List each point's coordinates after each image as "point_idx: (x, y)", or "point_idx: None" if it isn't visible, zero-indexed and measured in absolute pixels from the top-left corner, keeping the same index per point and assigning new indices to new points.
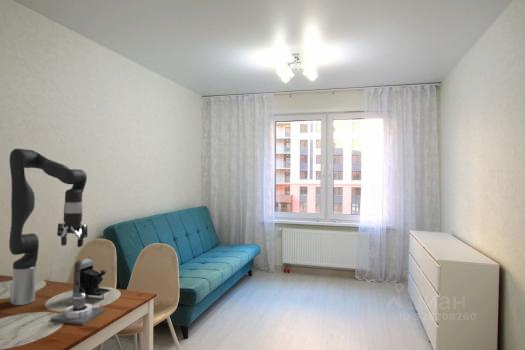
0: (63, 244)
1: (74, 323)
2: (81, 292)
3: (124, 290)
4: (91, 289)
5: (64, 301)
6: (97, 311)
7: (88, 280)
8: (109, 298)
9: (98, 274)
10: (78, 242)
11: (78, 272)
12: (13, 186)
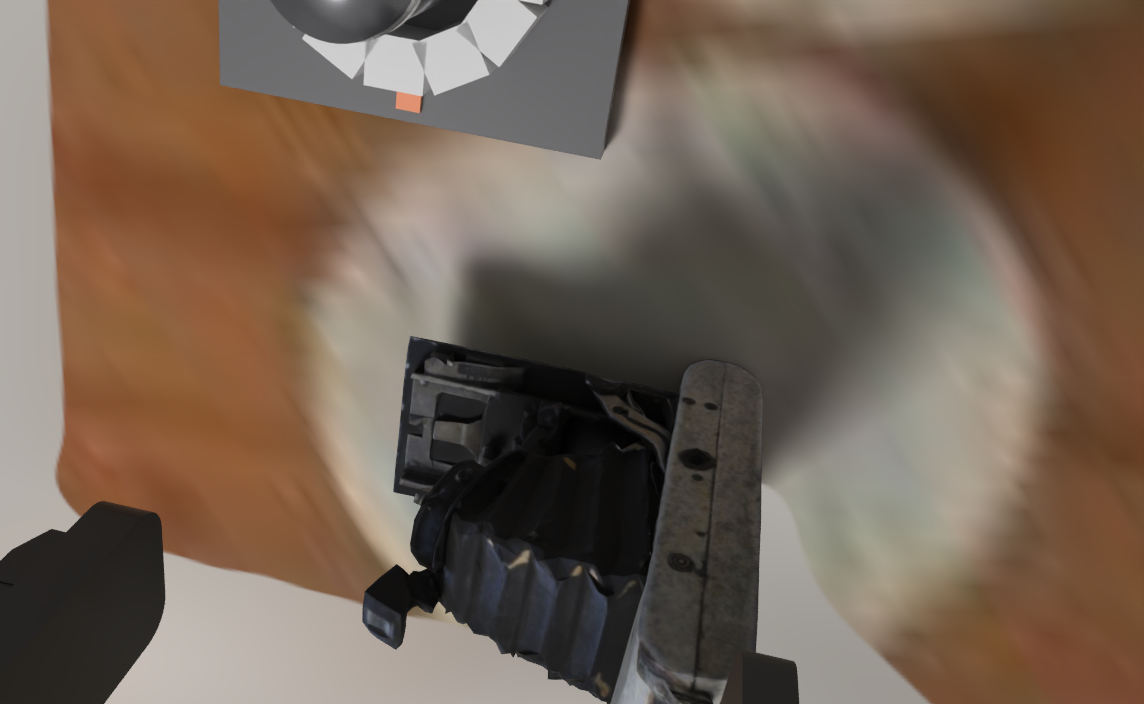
0: (733, 683)
1: None
2: (330, 4)
3: None
4: (537, 429)
5: (826, 322)
6: (255, 14)
7: (563, 497)
8: (398, 412)
9: (450, 580)
10: (16, 600)
11: (679, 552)
12: None
